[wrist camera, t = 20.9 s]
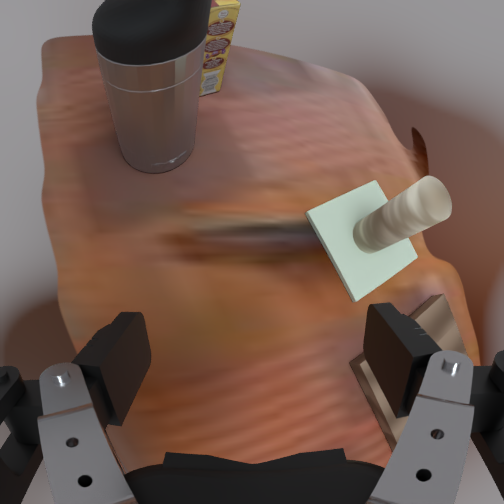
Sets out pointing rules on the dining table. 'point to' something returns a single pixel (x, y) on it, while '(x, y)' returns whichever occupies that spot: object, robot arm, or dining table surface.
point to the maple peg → (403, 215)
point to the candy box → (218, 43)
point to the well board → (440, 330)
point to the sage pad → (344, 248)
